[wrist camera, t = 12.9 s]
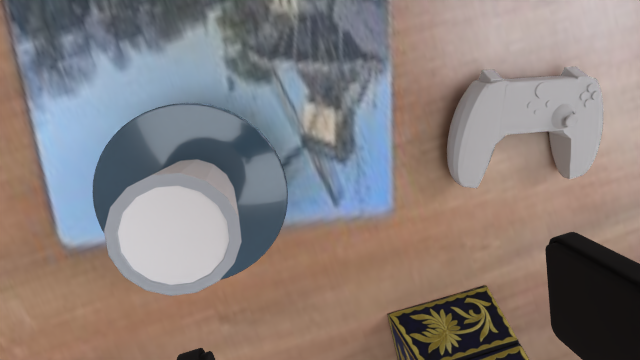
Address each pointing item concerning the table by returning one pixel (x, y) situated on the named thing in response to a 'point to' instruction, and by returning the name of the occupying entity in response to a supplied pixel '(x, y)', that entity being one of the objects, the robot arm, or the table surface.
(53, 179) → the table surface
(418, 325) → the decorative box
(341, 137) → the table surface
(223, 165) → the stand
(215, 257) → the shot glass
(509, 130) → the game controller
